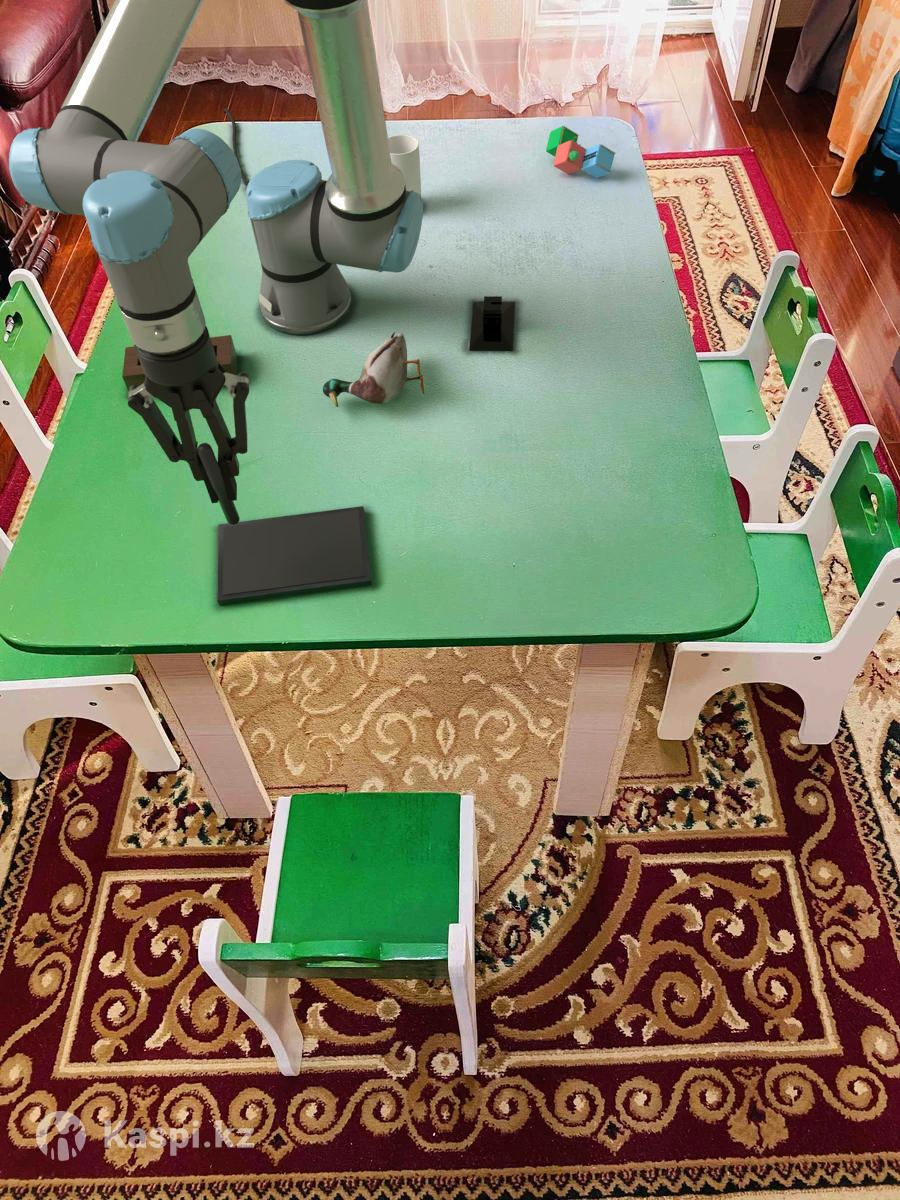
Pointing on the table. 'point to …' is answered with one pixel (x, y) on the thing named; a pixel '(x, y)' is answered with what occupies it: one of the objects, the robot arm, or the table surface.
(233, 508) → the stylus
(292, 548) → the tablet
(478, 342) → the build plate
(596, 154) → the building blocks
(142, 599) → the table surface
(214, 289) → the table surface
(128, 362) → the pen stand
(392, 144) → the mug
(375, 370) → the decorative duck model
